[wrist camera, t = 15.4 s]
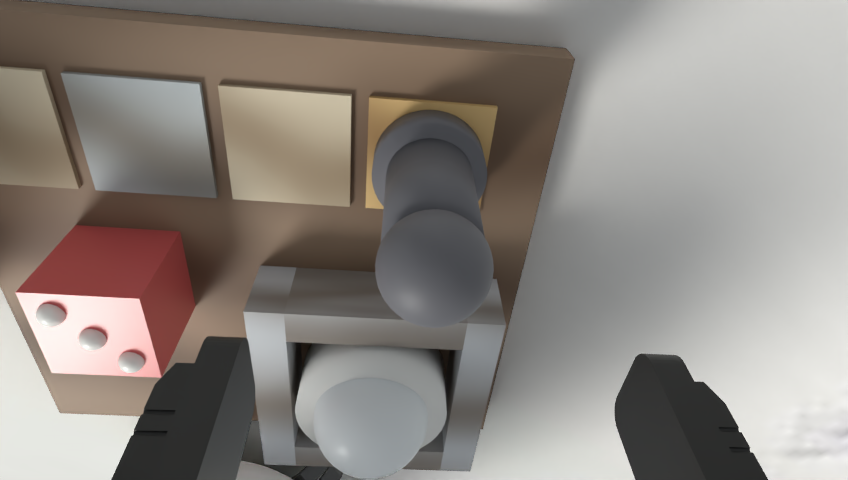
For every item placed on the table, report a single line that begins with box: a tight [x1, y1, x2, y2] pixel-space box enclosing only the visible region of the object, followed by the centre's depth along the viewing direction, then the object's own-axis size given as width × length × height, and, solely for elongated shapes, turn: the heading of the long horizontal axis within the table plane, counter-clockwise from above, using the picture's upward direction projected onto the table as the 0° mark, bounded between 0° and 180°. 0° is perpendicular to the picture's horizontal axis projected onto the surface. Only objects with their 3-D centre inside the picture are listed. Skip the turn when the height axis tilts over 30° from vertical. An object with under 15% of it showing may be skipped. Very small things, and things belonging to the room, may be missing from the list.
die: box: [15, 225, 195, 378], centre depth 21 cm, size 4×4×4 cm
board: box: [0, 0, 575, 471], centre depth 22 cm, size 20×22×4 cm
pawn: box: [372, 110, 494, 328], centre depth 17 cm, size 4×4×8 cm
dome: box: [295, 343, 447, 479], centre depth 23 cm, size 6×6×5 cm
